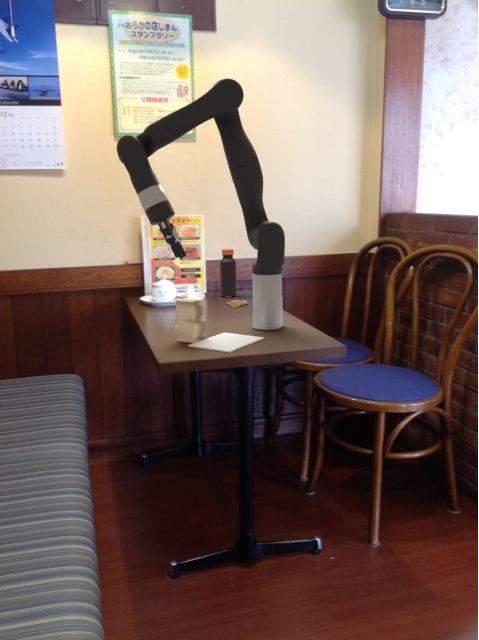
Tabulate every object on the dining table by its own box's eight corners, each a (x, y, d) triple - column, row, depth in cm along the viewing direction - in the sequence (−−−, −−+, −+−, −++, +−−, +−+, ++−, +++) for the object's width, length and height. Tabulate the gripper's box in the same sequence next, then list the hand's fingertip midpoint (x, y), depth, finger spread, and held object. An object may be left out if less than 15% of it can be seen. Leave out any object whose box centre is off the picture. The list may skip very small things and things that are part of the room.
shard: (235, 309, 215) (235, 305, 215) (218, 308, 219) (218, 303, 219) (249, 305, 225) (249, 300, 224) (232, 303, 228) (232, 299, 228)
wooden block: (189, 336, 171) (188, 297, 169) (206, 338, 168) (205, 298, 165) (177, 340, 166) (175, 300, 164) (193, 343, 163) (192, 301, 160)
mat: (224, 333, 174) (224, 332, 174) (264, 338, 166) (264, 337, 166) (188, 346, 159) (188, 345, 159) (229, 352, 151) (229, 351, 151)
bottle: (239, 296, 243) (238, 249, 239) (225, 298, 239) (224, 250, 235) (231, 294, 248) (230, 248, 244) (217, 296, 245) (216, 249, 241)
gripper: (164, 195, 153) (191, 250, 154) (171, 201, 167) (195, 252, 168) (139, 208, 153) (166, 262, 154) (148, 213, 167) (173, 263, 168)
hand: (181, 257), depth 161 cm, fingers open, 8 cm apart
